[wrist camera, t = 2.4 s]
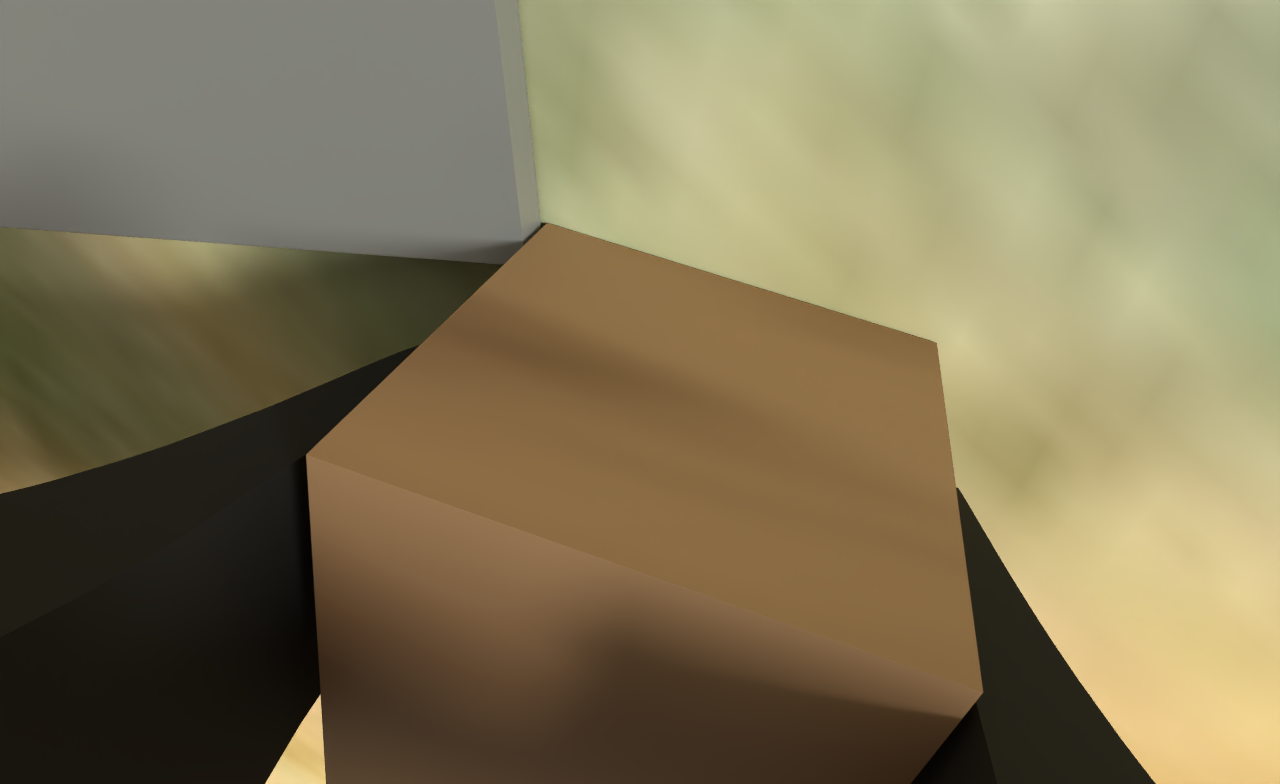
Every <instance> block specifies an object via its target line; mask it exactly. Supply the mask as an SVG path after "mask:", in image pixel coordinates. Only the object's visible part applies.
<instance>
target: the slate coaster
mask: <svg viewBox="0 0 1280 784" xmlns="http://www.w3.org/2000/svg"><path fill="white" fill-rule="evenodd" d="M0 227H6V228H20V229H33V230H46V231H60V232H73V233H87V234H100V235H114V236H127V237H140V238H154V239H167V240H181V241H194V242H208V243H221V244H234V245H248V246H261V247H275V248H288V249H301V250H315V251H328V252H342V253H355V254H369V255H382V256H395V257H409V258H422V259H436V260H449V261H463V262H476V263H489V264H503V265H504V264H505V263H506V262H507V261H508V260H509V259H510V258H511V257H512V256H513V255H514V254H515V253H516V252H518V251H519V250H520V249H521V248H522V247H523V246H524V245H525V244H526V243H527V242H528V241H529V240H530V239H531V238H532V237H533V236H534V235H535V234H536V233H537V232H538V231H539V230H540V229H541V222H540V212H539V203H538V193H537V183H536V174H535V164H534V155H533V145H532V135H531V126H530V116H529V107H528V97H527V87H526V78H525V68H524V59H523V49H522V39H521V30H520V20H519V11H518V1H517V0H0Z"/></svg>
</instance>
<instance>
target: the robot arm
mask: <svg viewBox="0 0 1280 784" xmlns="http://www.w3.org/2000/svg"><path fill="white" fill-rule="evenodd" d="M419 346H420V345H418V346H415V347H412V348H410V349H407V350H404V351H401V352H399V353H396V354H394V355H391V356H389V357H386V358H384V359H381V360H379V361H377V362H374V363H372V364H370V365H367V366H365V367H363V368H360V369H358V370H356V371H353V372H351V373H349V374H346V375H344V376H342V377H339V378H337V379H335V380H332V381H330V382H328V383H325V384H323V385H320V386H318V387H316V388H313V389H311V390H308V391H306V392H304V393H301V394H299V395H297V396H294V397H292V398H289V399H287V400H285V401H282V402H280V403H277V404H275V405H273V406H270V407H268V408H265V409H263V410H260V411H258V412H255V413H252V414H250V415H247V416H244V417H242V418H239V419H236V420H234V421H231V422H228V423H226V424H223V425H220V426H218V427H215V428H212V429H210V430H207V431H204V432H202V433H199V434H196V435H194V436H191V437H189V438H186V439H183V440H181V441H178V442H175V443H172V444H170V445H167V446H164V447H161V448H158V449H155V450H152V451H149V452H146V453H143V454H140V455H137V456H134V457H130V458H127V459H124V460H121V461H118V462H115V463H111V464H108V465H105V466H101V467H98V468H94V469H91V470H88V471H84V472H81V473H77V474H74V475H71V476H67V477H64V478H61V479H57V480H53V481H50V482H46V483H42V484H39V485H35V486H31V487H27V488H23V489H19V490H15V491H11V492H6V493H2V494H0V784H265V783H266V781H267V779H268V778H269V776H270V774H271V772H272V771H273V769H274V767H275V766H276V764H277V762H278V761H279V759H280V757H281V756H282V754H283V752H284V751H285V749H286V747H287V746H288V744H289V742H290V741H291V739H292V737H293V736H294V734H295V732H296V730H297V729H298V727H299V725H300V724H301V722H302V721H303V719H304V718H305V716H306V715H307V713H308V712H309V710H310V709H311V707H312V706H313V704H314V703H315V701H316V700H317V698H318V697H319V695H320V694H321V691H320V674H319V658H318V641H317V625H316V608H315V592H314V576H313V559H312V543H311V526H310V510H309V494H308V477H307V461H306V454H307V453H308V452H309V451H310V450H311V449H312V448H314V447H315V446H316V445H317V444H318V443H319V442H320V441H321V440H322V439H323V438H324V437H325V436H326V435H327V434H328V433H329V432H330V431H331V430H332V429H333V428H334V427H335V426H336V425H337V424H339V423H340V422H341V421H342V420H343V419H344V418H345V417H346V416H347V415H348V414H349V413H350V412H351V411H352V410H353V409H354V408H355V407H356V406H357V405H358V404H359V403H360V402H361V401H362V400H363V399H365V398H366V397H367V396H368V395H369V394H370V393H371V392H372V391H373V390H374V389H375V388H376V387H377V386H378V385H379V384H380V383H381V382H382V381H383V380H384V379H385V378H386V377H387V376H388V375H390V374H391V373H392V372H393V371H394V370H395V369H396V368H397V367H398V366H399V365H400V364H401V363H402V362H403V361H404V360H405V359H406V358H407V357H408V356H409V355H410V354H411V353H412V352H413V351H414V350H416V349H417V348H418V347H419ZM956 492H957V499H958V507H959V514H960V522H961V529H962V537H963V544H964V552H965V559H966V567H967V574H968V582H969V589H970V597H971V604H972V612H973V619H974V627H975V634H976V642H977V649H978V657H979V664H980V672H981V679H982V687H983V693H982V695H981V696H980V697H979V698H978V700H977V701H976V702H975V703H974V705H973V706H972V707H971V708H970V710H969V711H968V712H967V713H966V715H965V716H964V717H963V718H962V720H961V721H960V722H959V723H958V725H957V726H956V727H955V729H954V730H953V731H952V732H951V734H950V735H949V736H948V737H947V739H946V740H945V741H944V742H943V744H942V745H941V746H940V747H939V749H938V750H937V751H936V752H935V754H934V755H933V756H932V757H931V759H930V760H929V761H928V762H927V764H926V765H925V766H924V767H923V769H922V770H921V771H920V773H919V774H918V775H917V776H916V778H915V779H914V780H913V781H912V783H911V784H1155V782H1154V781H1153V780H1152V779H1151V777H1150V776H1149V775H1148V773H1147V772H1146V771H1145V770H1144V768H1143V767H1142V766H1141V764H1140V763H1139V762H1138V761H1137V759H1136V758H1135V757H1134V755H1133V754H1132V753H1131V752H1130V750H1129V749H1128V748H1127V746H1126V745H1125V744H1124V742H1123V741H1122V740H1121V738H1120V737H1119V736H1118V734H1117V733H1116V731H1115V730H1114V729H1113V727H1112V726H1111V724H1110V723H1109V722H1108V720H1107V719H1106V718H1105V716H1104V715H1103V713H1102V712H1101V711H1100V709H1099V708H1098V706H1097V705H1096V704H1095V702H1094V701H1093V700H1092V698H1091V697H1090V695H1089V694H1088V693H1087V691H1086V690H1085V688H1084V687H1083V686H1082V684H1081V683H1080V682H1079V680H1078V679H1077V677H1076V676H1075V674H1074V673H1073V671H1072V670H1071V668H1070V667H1069V665H1068V664H1067V662H1066V661H1065V660H1064V658H1063V657H1062V655H1061V654H1060V652H1059V651H1058V649H1057V648H1056V646H1055V645H1054V643H1053V642H1052V640H1051V639H1050V637H1049V636H1048V634H1047V633H1046V631H1045V630H1044V628H1043V626H1042V625H1041V623H1040V622H1039V620H1038V619H1037V617H1036V616H1035V614H1034V612H1033V611H1032V609H1031V608H1030V606H1029V605H1028V603H1027V601H1026V600H1025V598H1024V597H1023V595H1022V593H1021V592H1020V590H1019V589H1018V587H1017V585H1016V584H1015V582H1014V580H1013V579H1012V577H1011V576H1010V574H1009V572H1008V571H1007V569H1006V567H1005V566H1004V564H1003V562H1002V561H1001V559H1000V557H999V556H998V554H997V552H996V551H995V549H994V547H993V546H992V544H991V542H990V540H989V539H988V537H987V535H986V534H985V532H984V530H983V529H982V527H981V525H980V523H979V522H978V520H977V518H976V517H975V515H974V513H973V512H972V510H971V508H970V507H969V505H968V503H967V502H966V500H965V498H964V497H963V495H962V493H961V492H960V490H959V489H958V488H956Z"/></svg>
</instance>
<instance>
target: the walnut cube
mask: <svg viewBox="0 0 1280 784" xmlns="http://www.w3.org/2000/svg"><path fill="white" fill-rule="evenodd" d="M306 461H307V477H308V494H309V510H310V526H311V543H312V559H313V576H314V592H315V608H316V625H317V641H318V658H319V674H320V691H321V707H322V723H323V740H324V756H325V773H326V784H911V783H912V781H913V780H914V779H915V778H916V776H917V775H918V774H919V773H920V771H921V770H922V769H923V767H924V766H925V765H926V764H927V762H928V761H929V760H930V759H931V757H932V756H933V755H934V754H935V752H936V751H937V750H938V749H939V747H940V746H941V745H942V744H943V742H944V741H945V740H946V739H947V737H948V736H949V735H950V734H951V732H952V731H953V730H954V729H955V727H956V726H957V725H958V723H959V722H960V721H961V720H962V718H963V717H964V716H965V715H966V713H967V712H968V711H969V710H970V708H971V707H972V706H973V705H974V703H975V702H976V701H977V700H978V698H979V697H980V696H981V695H982V693H983V687H982V679H981V672H980V664H979V657H978V649H977V642H976V634H975V627H974V619H973V612H972V604H971V597H970V589H969V582H968V574H967V567H966V559H965V552H964V544H963V537H962V529H961V522H960V514H959V507H958V499H957V492H956V484H955V477H954V469H953V462H952V454H951V447H950V439H949V432H948V424H947V417H946V409H945V402H944V394H943V387H942V379H941V372H940V364H939V357H938V349H937V343H935V342H932V341H929V340H926V339H922V338H919V337H916V336H913V335H909V334H906V333H903V332H900V331H896V330H893V329H890V328H887V327H883V326H880V325H877V324H874V323H870V322H867V321H864V320H861V319H857V318H854V317H851V316H848V315H844V314H841V313H838V312H835V311H831V310H828V309H825V308H822V307H818V306H815V305H812V304H809V303H805V302H802V301H799V300H796V299H793V298H789V297H786V296H783V295H780V294H776V293H773V292H770V291H767V290H763V289H760V288H757V287H754V286H750V285H747V284H744V283H741V282H737V281H734V280H731V279H728V278H724V277H721V276H718V275H715V274H711V273H708V272H705V271H702V270H698V269H695V268H692V267H689V266H685V265H682V264H679V263H676V262H672V261H669V260H666V259H663V258H659V257H656V256H653V255H650V254H646V253H643V252H640V251H637V250H634V249H630V248H627V247H624V246H621V245H617V244H614V243H611V242H608V241H604V240H601V239H598V238H595V237H591V236H588V235H585V234H582V233H578V232H575V231H572V230H569V229H565V228H562V227H559V226H556V225H552V224H549V223H547V224H546V225H545V226H544V227H543V228H541V229H540V230H539V231H538V232H537V233H536V234H535V235H534V236H533V237H532V238H531V239H530V240H529V241H528V242H527V243H526V244H525V245H524V246H523V247H522V248H521V249H520V250H519V251H518V252H516V253H515V254H514V255H513V256H512V257H511V258H510V259H509V260H508V261H507V262H506V263H505V264H504V265H503V266H502V267H501V268H500V269H499V270H498V271H497V272H496V273H495V274H494V275H493V276H492V277H490V278H489V279H488V280H487V281H486V282H485V283H484V284H483V285H482V286H481V287H480V288H479V289H478V290H477V291H476V292H475V293H474V294H473V295H472V296H471V297H470V298H469V299H468V300H467V301H465V302H464V303H463V304H462V305H461V306H460V307H459V308H458V309H457V310H456V311H455V312H454V313H453V314H452V315H451V316H450V317H449V318H448V319H447V320H446V321H445V322H444V323H443V324H442V325H441V326H439V327H438V328H437V329H436V330H435V331H434V332H433V333H432V334H431V335H430V336H429V337H428V338H427V339H426V340H425V341H424V342H423V343H422V344H421V345H420V346H419V347H418V348H417V349H416V350H414V351H413V352H412V353H411V354H410V355H409V356H408V357H407V358H406V359H405V360H404V361H403V362H402V363H401V364H400V365H399V366H398V367H397V368H396V369H395V370H394V371H393V372H392V373H391V374H390V375H388V376H387V377H386V378H385V379H384V380H383V381H382V382H381V383H380V384H379V385H378V386H377V387H376V388H375V389H374V390H373V391H372V392H371V393H370V394H369V395H368V396H367V397H366V398H365V399H363V400H362V401H361V402H360V403H359V404H358V405H357V406H356V407H355V408H354V409H353V410H352V411H351V412H350V413H349V414H348V415H347V416H346V417H345V418H344V419H343V420H342V421H341V422H340V423H339V424H337V425H336V426H335V427H334V428H333V429H332V430H331V431H330V432H329V433H328V434H327V435H326V436H325V437H324V438H323V439H322V440H321V441H320V442H319V443H318V444H317V445H316V446H315V447H314V448H312V449H311V450H310V451H309V452H308V453H307V454H306Z"/></svg>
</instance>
